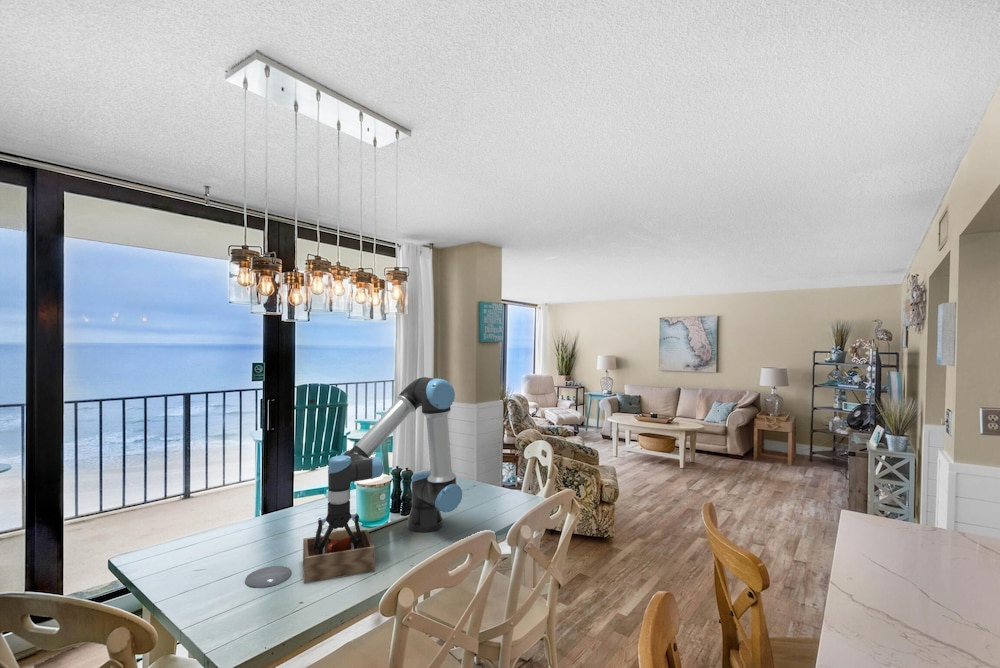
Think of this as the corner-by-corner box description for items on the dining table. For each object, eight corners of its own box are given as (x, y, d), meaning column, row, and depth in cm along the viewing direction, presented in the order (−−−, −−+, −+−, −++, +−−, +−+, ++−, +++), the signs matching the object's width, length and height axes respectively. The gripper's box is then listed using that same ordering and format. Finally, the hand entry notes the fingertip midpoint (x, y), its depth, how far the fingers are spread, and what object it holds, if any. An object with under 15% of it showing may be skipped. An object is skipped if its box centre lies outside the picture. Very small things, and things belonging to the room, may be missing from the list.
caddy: (366, 550, 182) (367, 529, 182) (374, 570, 166) (374, 547, 166) (303, 560, 173) (303, 538, 173) (304, 583, 157) (304, 558, 157)
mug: (335, 557, 176) (335, 529, 176) (357, 559, 174) (357, 531, 175) (316, 572, 164) (316, 542, 165) (339, 575, 163) (340, 544, 163)
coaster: (291, 564, 170) (291, 563, 170) (291, 582, 157) (291, 581, 157) (246, 572, 164) (247, 570, 164) (243, 591, 152) (243, 589, 152)
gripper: (368, 494, 178) (367, 555, 177) (305, 501, 169) (304, 566, 169) (372, 500, 171) (370, 564, 170) (306, 508, 162) (304, 575, 162)
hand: (337, 565), depth 169 cm, fingers open, 9 cm apart
